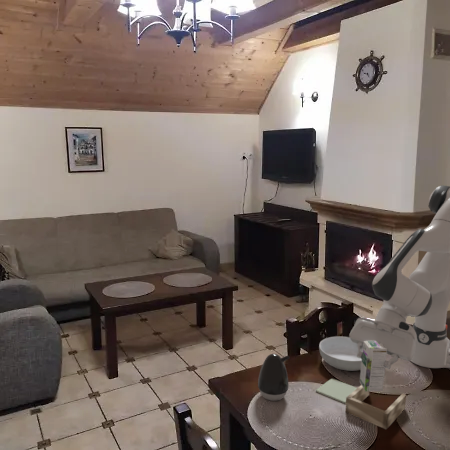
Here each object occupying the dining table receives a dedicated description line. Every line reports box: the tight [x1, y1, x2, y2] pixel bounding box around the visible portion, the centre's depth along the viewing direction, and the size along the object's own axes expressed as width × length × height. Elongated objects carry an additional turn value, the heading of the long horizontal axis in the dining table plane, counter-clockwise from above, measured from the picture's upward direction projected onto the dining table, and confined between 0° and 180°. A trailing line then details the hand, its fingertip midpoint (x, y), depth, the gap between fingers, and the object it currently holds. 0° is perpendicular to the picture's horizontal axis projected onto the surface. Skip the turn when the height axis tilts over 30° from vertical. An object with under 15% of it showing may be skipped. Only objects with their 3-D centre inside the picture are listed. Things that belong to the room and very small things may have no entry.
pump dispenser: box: [257, 353, 290, 402], centre depth 154 cm, size 10×10×15 cm
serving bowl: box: [318, 336, 363, 372], centre depth 178 cm, size 21×21×7 cm
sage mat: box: [315, 377, 358, 405], centre depth 159 cm, size 11×11×1 cm
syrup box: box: [359, 341, 388, 392], centre depth 144 cm, size 6×6×14 cm
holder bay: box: [345, 384, 407, 430], centre depth 147 cm, size 15×13×5 cm
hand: (372, 362), depth 144 cm, fingers closed on syrup box, 8 cm apart
